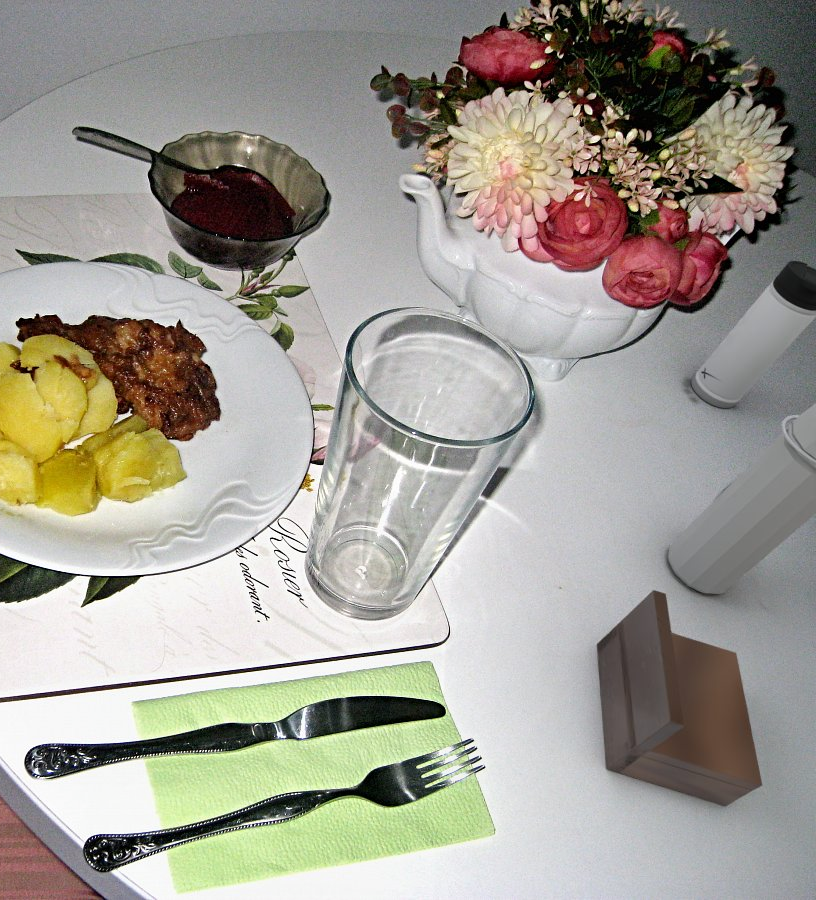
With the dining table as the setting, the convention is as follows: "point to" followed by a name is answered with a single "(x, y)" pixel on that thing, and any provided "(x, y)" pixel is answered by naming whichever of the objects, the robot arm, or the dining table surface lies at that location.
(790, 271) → the travel mug
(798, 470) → the water bottle
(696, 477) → the dining table surface
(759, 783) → the shelf
